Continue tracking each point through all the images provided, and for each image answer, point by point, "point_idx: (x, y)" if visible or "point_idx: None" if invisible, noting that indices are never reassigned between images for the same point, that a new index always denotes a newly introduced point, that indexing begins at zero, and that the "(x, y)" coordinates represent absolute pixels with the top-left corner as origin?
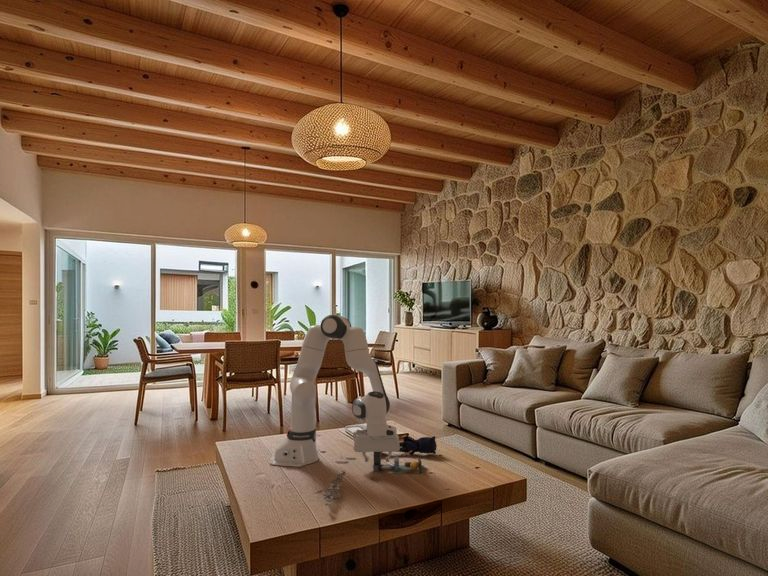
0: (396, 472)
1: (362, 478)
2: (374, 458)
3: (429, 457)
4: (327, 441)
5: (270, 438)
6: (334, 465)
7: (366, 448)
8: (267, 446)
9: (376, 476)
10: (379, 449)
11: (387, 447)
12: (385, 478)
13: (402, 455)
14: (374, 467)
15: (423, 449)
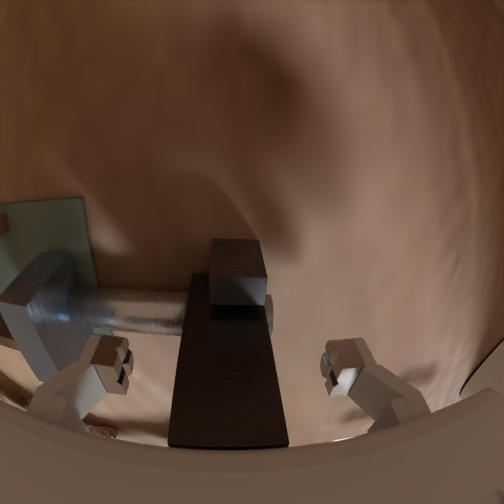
0: (57, 232)
1: (373, 114)
2: (263, 365)
3: (13, 391)
4: None
5: None
6: (457, 341)
7: (416, 465)
8: None
9: (233, 145)
10: (178, 484)
11: (38, 477)
12: (138, 94)
13: (109, 430)
14: (256, 265)
15: None
